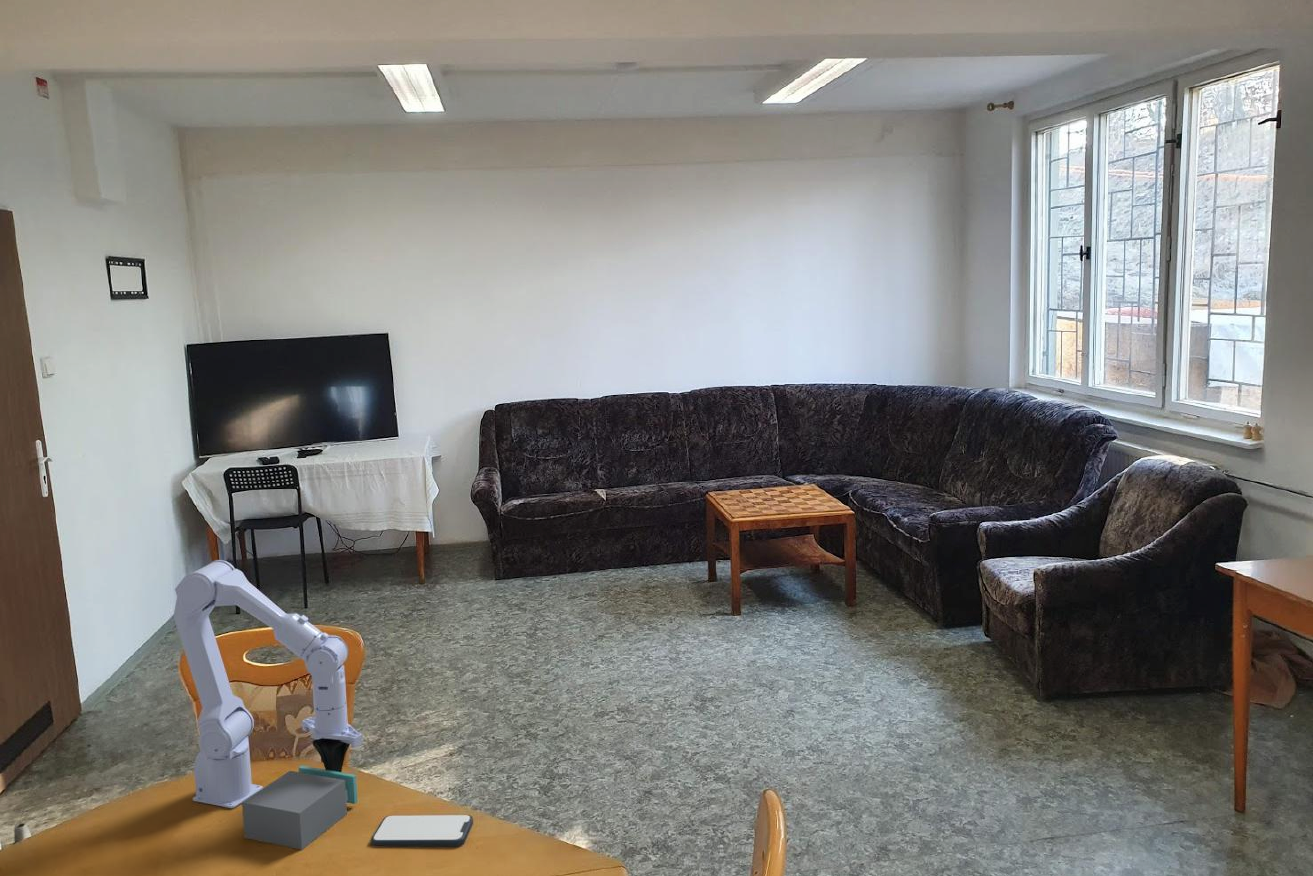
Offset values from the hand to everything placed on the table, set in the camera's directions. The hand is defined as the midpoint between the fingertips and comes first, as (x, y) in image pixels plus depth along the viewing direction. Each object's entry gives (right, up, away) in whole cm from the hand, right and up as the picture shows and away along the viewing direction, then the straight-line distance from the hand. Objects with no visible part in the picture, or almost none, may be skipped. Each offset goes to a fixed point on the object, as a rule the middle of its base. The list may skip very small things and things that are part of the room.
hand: (334, 774), depth 179 cm
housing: (-3, -6, -9) cm, 12 cm away
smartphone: (+19, -6, -12) cm, 24 cm away
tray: (-2, -5, -6) cm, 8 cm away
